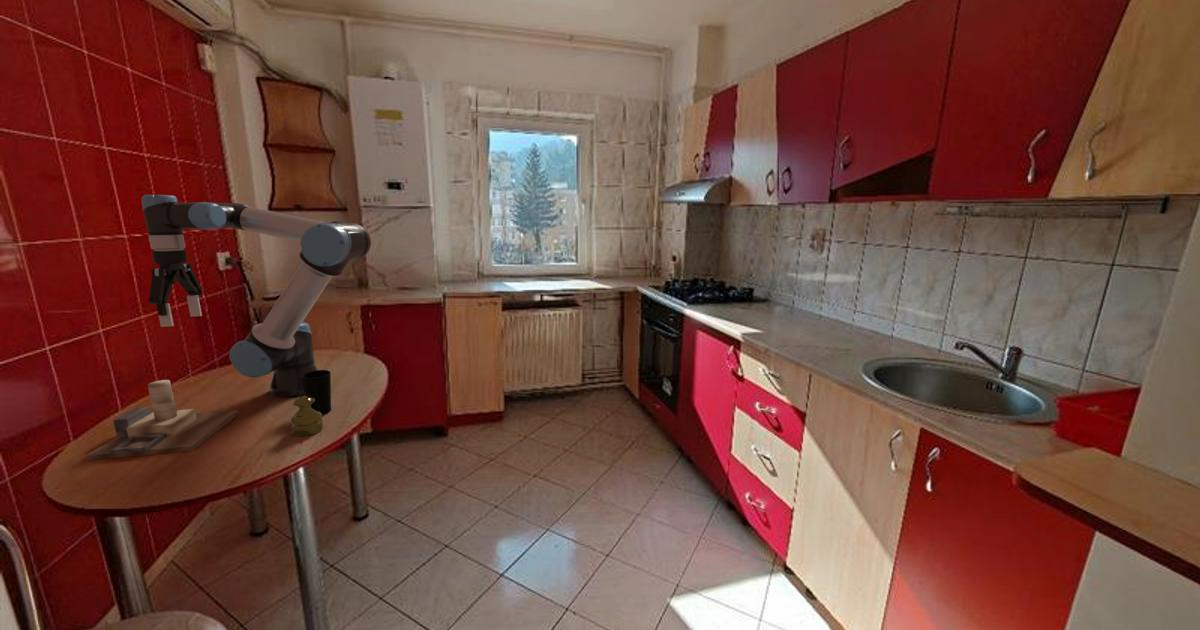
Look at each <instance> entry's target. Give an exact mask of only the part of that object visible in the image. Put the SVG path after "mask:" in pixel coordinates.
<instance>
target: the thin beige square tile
mask: <svg viewBox="0 0 1200 630" xmlns="http://www.w3.org/2000/svg"><path fill="white" fill-rule="evenodd" d="M176 412H177V416H176V417H175V418H172V419H169V420H165V421H155V417H154V412H153V411H152V412H150V414H149V415H147V416H145V417H144V418H142V419H140V420H139V421H137V422H135V423H134V424H132V425H130V426H129V427H127V428H126V429H127V433H128V438H131V437H132V436H142V435H154V434H167V435H175V434H176V433H177V432H179V431H180V430H182V429H183V428H184V427H186V426H187V425H189V424H190V423H192V422H193V421H194V420H196V419H197V417H196V414H197V413H196V412H197V411H196V409H195V408H191V409H190V408H188V409H176Z"/></svg>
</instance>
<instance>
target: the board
mask: <svg viewBox="0 0 1200 630" xmlns="http://www.w3.org/2000/svg"><path fill="white" fill-rule="evenodd" d="M150 411H151V410H150V406H139V407H135V408H134V407H133V408H132V409H130V410H128V411H127V412H125V413H123V414H122V415H119V416H118V417H116V418H115V419H112V421H113V425H114V429H115V435H116V436H115V437H114V438H112V439H111V440H109V441H108V442H106V443H104V444H103V445H101V446H98V448H96V449H94V450H93V451H91V452H88V453H87V454H86V455H85V456H86V460H87V461H88V460H89V461H90V460H91V461H92V460H100V459H101V460H102V459H113V458H122V457H123V458H124V457H136V456H146V455H147V456H148V455H157V454H158V455H159V454H167V453H168V454H170V453H179V452H180V453H182V452H190V451H191V452H192V451H195V450H196V449H197V448H198V447H200V446H201V445H202V444H204V443H205V442H206V441H207V440H208V439H210V438H211V437H213V435H215V434H216V433H217V432H219V430H221V429H222V428H223V427H224V426H226V425H228V423H229V422H232V420H233V419H235V418H236V417H237V416H238V415H239V410H227V411H226V410H225V411H215V412H213V411H212V412H202V413H201V412H200V413H196V417H197V419H196V420H194V421H193V422H192V423H190V424H189V425H187V426H186V427H184V428H183V429H182V430H180V431H179V432H177V433H176V434H175V435H167V434H154V435H142V436H132V437H131V438H128V433H127V429H126V428H127V427H129V426H130V425H132V424H134V423H135V422H137V421H139V420H140V419H142V418H144V417H145V416H147V415H149V414H151V412H150Z"/></svg>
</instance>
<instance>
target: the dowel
mask: <svg viewBox="0 0 1200 630" xmlns="http://www.w3.org/2000/svg"><path fill="white" fill-rule="evenodd" d="M147 389H148V392H149V393H148V394H149V399H150V403H151V407H152V408H151V409H152V412H154V417H155V421H165V420H169V419H172V418H175V417H176V416H177V412H176V410H177V408H176V402H175V397H174V393H173V389H172V384H171V380H169V379H161V380H156V381H152V382H150V383H149V382H148V384H147Z"/></svg>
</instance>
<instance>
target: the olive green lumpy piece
mask: <svg viewBox="0 0 1200 630" xmlns="http://www.w3.org/2000/svg"><path fill="white" fill-rule="evenodd" d="M314 401H315V399H314V398H313V397H309V396H305V395H300V397H298V398H297V399H296V398H295V400H294V401H293V402H292V404H293V405H294V406H295V407H297V408H298V410H297V411H296V412H295V414H293V415H292V416H291V417H290V420H289V421H290V424H291V426H290V427H291V433H292V435H293V436H295V437H308V436H312V435H315V434H317V433H320V431H322V430H323V428H324V420H323V419H322V417H323V415H322V413H321V412H320V411H317V410H315V409H313V408H311V404H312V403H313V402H314Z"/></svg>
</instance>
